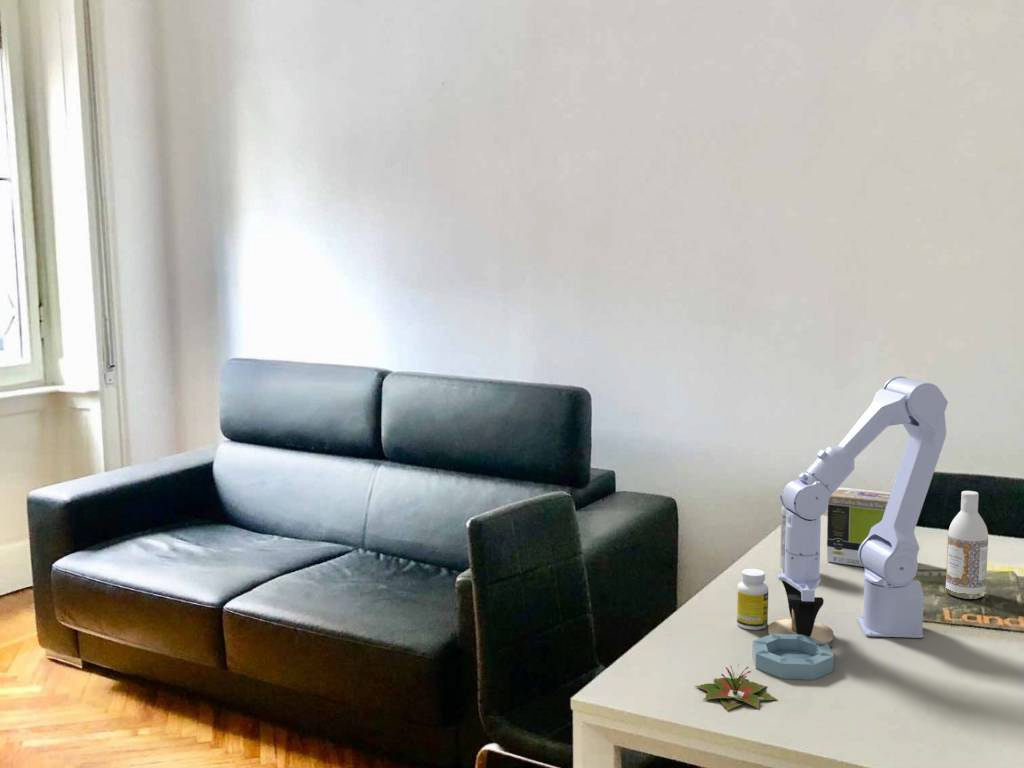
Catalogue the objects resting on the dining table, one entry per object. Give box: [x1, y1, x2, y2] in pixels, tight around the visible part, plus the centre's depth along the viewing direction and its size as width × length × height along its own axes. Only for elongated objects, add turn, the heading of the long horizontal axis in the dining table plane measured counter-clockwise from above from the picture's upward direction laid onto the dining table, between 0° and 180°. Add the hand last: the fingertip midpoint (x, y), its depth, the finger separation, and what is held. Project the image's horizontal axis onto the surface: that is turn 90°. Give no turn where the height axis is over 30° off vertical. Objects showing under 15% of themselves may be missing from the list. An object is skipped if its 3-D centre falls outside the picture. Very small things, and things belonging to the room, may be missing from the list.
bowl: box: [752, 634, 835, 681], centre depth 163 cm, size 12×12×2 cm
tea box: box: [826, 486, 892, 568], centre depth 212 cm, size 15×10×15 cm, turn 58°
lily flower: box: [695, 664, 779, 711], centre depth 152 cm, size 12×12×5 cm
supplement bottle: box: [736, 568, 769, 631], centre depth 179 cm, size 5×5×10 cm
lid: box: [767, 609, 834, 643], centre depth 174 cm, size 11×11×4 cm
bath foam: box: [945, 490, 989, 594], centre depth 191 cm, size 7×7×20 cm
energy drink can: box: [779, 505, 786, 573], centre depth 206 cm, size 6×6×15 cm
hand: (800, 627), depth 174 cm, fingers open, 7 cm apart
